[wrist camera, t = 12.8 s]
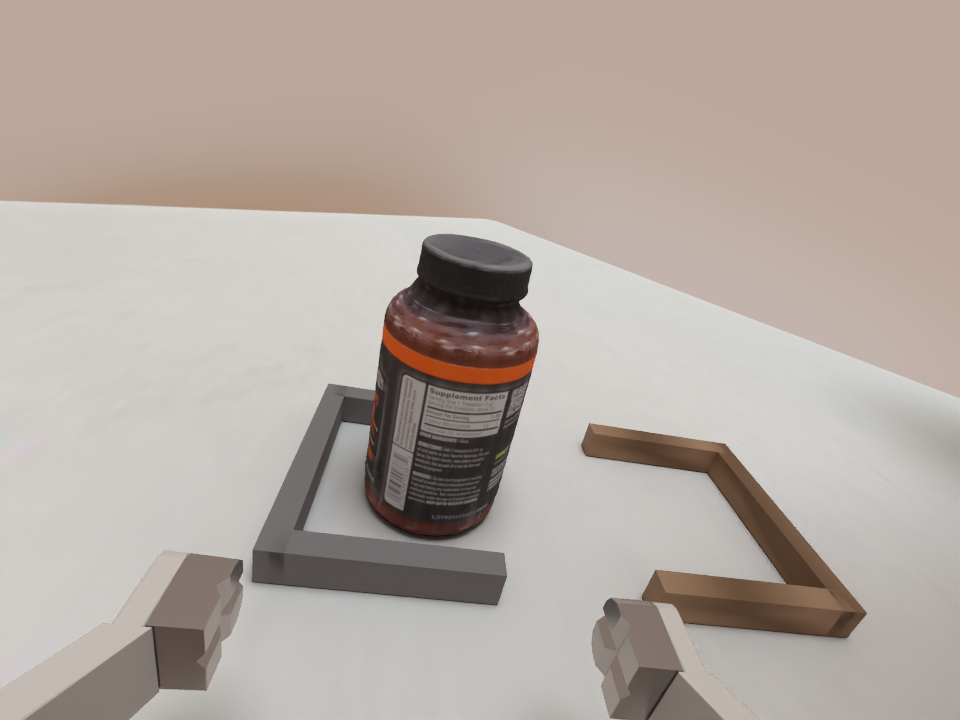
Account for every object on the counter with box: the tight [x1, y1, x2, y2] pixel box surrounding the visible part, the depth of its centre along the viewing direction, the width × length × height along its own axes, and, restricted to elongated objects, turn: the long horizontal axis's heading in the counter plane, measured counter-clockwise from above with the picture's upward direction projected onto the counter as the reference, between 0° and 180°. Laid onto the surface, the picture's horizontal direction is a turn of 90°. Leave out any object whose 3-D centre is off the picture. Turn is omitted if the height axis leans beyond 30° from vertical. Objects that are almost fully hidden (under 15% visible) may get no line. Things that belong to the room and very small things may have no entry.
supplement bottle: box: [365, 234, 539, 536], centre depth 20 cm, size 6×6×11 cm
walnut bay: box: [582, 423, 867, 638], centre depth 24 cm, size 8×11×2 cm
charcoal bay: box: [252, 384, 507, 605], centre depth 22 cm, size 8×11×2 cm
